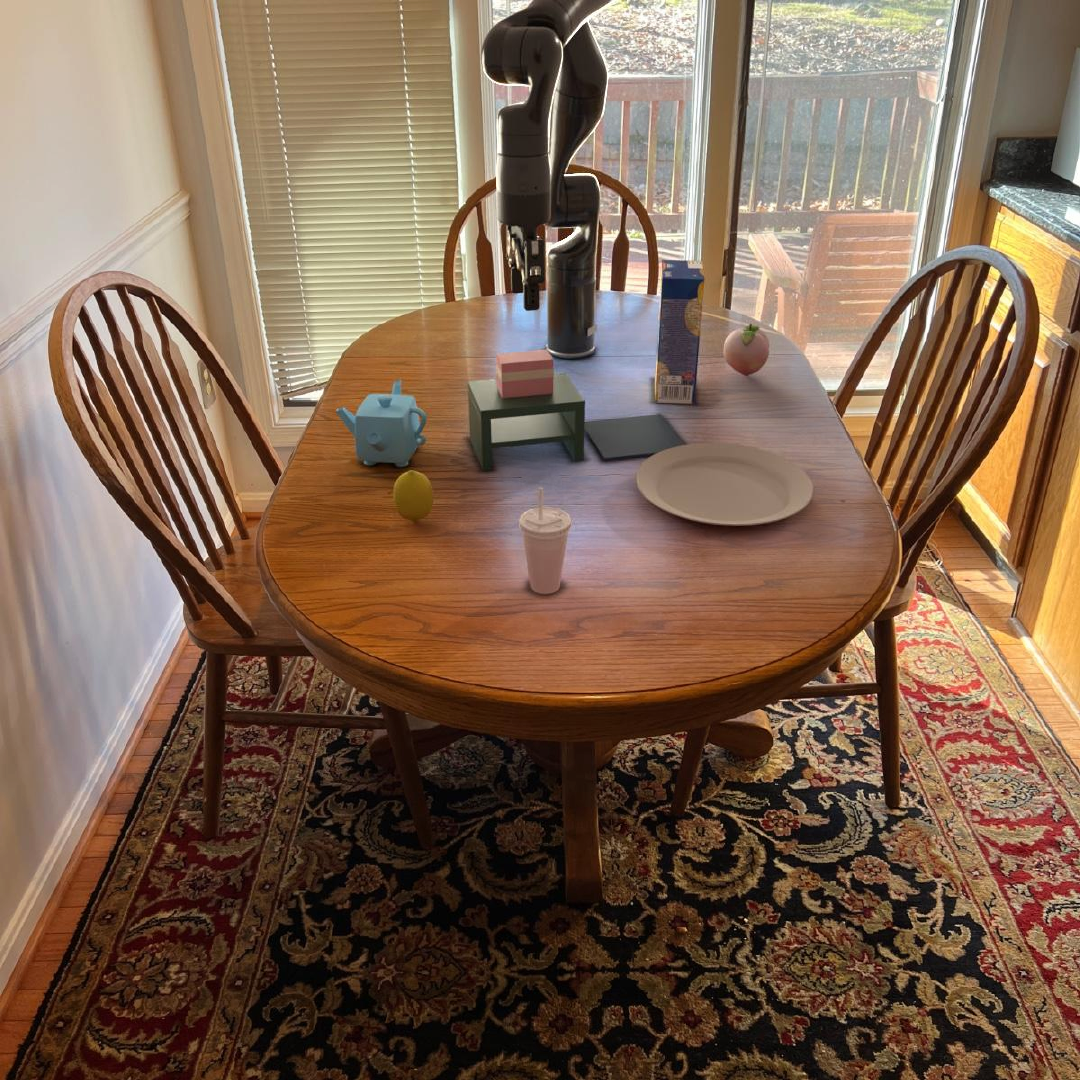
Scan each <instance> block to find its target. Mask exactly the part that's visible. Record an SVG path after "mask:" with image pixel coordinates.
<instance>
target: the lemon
mask: <svg viewBox="0 0 1080 1080" xmlns="http://www.w3.org/2000/svg"><path fill="white" fill-rule="evenodd" d="M434 499H435V498H434V491H433V487H432V483H431V482H430V480H429V479H428V477H427V476H426V475H425V474H423V473H422V472H419V471H416V470H413V469H410V470H408V471H405V472H404V473H402V474H401V475H400V476H398V477H397V478H396V480H395V482H394V486H393V491H392V500H393V506H394V508H395V510H396V512H397V513H398V514H399V516H400V517H402V518H403V519H405V520H408V521H411V522H413V523H417V522H418V521H420V520H422V519H424V518H425V517H427V516H428V515H429V513H430V512H431V510H432V508H433V505H434Z"/></svg>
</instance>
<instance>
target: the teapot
mask: <svg viewBox="0 0 1080 1080" xmlns="http://www.w3.org/2000/svg"><path fill="white" fill-rule="evenodd" d="M335 413H336V415H337V416H338V417H339V418H340V420H341V421H342V422H343V424H344V426H346V428H347V430H348V431H349V432H350V433H351V435H352V436H353V438H354V448H355V454H356V457H357V460H358V461H360V462H363V463H364V465H366V466H374V465H376V464H377V463H389V464H391V463H392V464H394V465H395V466H396V467H398V468H399V467H400V468H403V467H407V466H408V465H409V461H410V459H411V458H412V457H413V455H414V454H415V452H416V450H417V448H418V446H423V445H425V444H426V442H427V437H426V435H425V434H422V431H423V430H424V428H425V427H426V424H427V414H426V413H425V411H424V410H423V409H421V408H419V407H418V406H417V403H416V398H415V396H414V395H409V394H402V379H397V380H395V381H394V382H393V385H392V390H391V393H390V394H389V393H369V394H368V395H367V396H366V397H364V400H363V401H362V403H361V404H360V405H359V407H358V409H357V411H356V413H355V415H354V414H353V413H352V412H350V411H349V410H348V409H346V407H344V406H343V407H340V408H337V409H336V410H335ZM420 417H421V420H420ZM420 439H421V440H420Z"/></svg>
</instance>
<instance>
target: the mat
mask: <svg viewBox="0 0 1080 1080" xmlns="http://www.w3.org/2000/svg"><path fill="white" fill-rule="evenodd" d="M584 433H585V434H586V435H587V436H588V438H589V440H590V441H591V443H592V444H593V446H594V447H595V449H596V451H597V452H598V454H599V455H600V457H601V458H602V460H603V461H604V462H607V461H616V460H626V459H636V458H644V457H651V456H652V455H654V454H656V453H658V452H661V451H663V450H666V449H669V448H673V447H677V446H682V445H686V443H685V442H684V441H683V440H682V439H681V437H680V436H679V434H677V432H676V431H675V430H674V428H673V427H672V426H671V425H670V424H669V422H668V421H667V420H666V418H665V417H663V415H662V414H661V413H658V414H649V415H637V416H627V417H618V418H608V419H599V420H589V421H587V420H586V421H585V428H584Z"/></svg>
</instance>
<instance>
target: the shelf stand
mask: <svg viewBox="0 0 1080 1080" xmlns="http://www.w3.org/2000/svg"><path fill="white" fill-rule="evenodd" d="M467 401H468V403H467V404H468V405H467V406H468V420H469V421H468V422H469V423H468V424H469V425H468V427H469V439H470V442H471V444H472V445H471V446H472V447H473V450H474V452H475V455H476V457H477V460H478V462H479V464H480V467H481V469H482V471H483V472H486V471H487V472H488V471H493V469H494V468H493V450H494V449H503V448H514V447H522V446H532V445H542V444H552V443H561V442H562V443H564V445H565V448H566V449H567V451H568V453H569V454H570V456H571V458H572V459H573V461H574V462H581V461H584V460H585V430H584V428H585V422H586V419H585V418H586V400H585V398H584V397H583V396H582V394H581V393H580V391H579V390H578V388H577V387H576V386H575V384H574V382H573V381H572V380H571V378H570V376H569V375H568V374H567V372H566V371H565V372H554V377H553V394H544V395H534V396H523V397H513V398H502V397H501V395H500V393H499V391H498V389H497V378H488V379H475V380H468V381H467Z"/></svg>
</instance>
